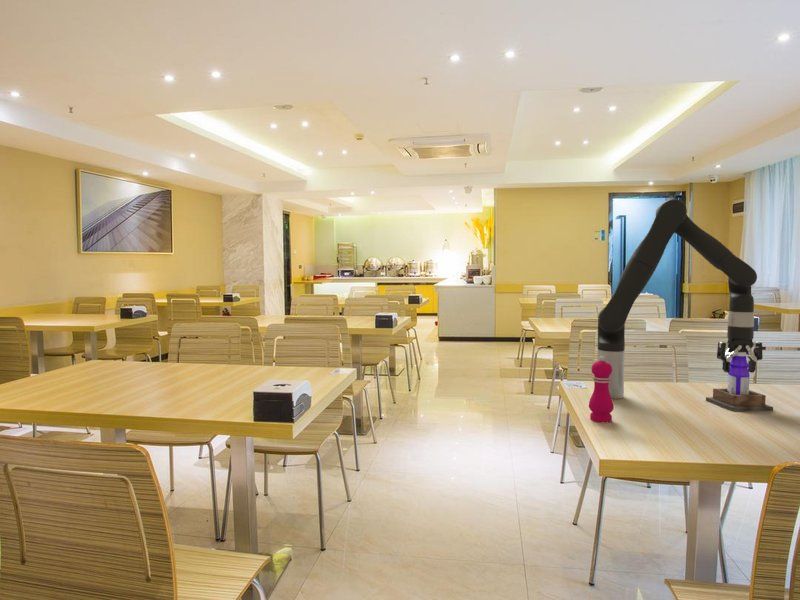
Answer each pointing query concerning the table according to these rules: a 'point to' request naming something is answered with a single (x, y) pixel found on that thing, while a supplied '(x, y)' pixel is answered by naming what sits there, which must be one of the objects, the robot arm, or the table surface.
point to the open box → (739, 401)
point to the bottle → (738, 375)
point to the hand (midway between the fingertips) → (738, 372)
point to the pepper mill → (601, 392)
